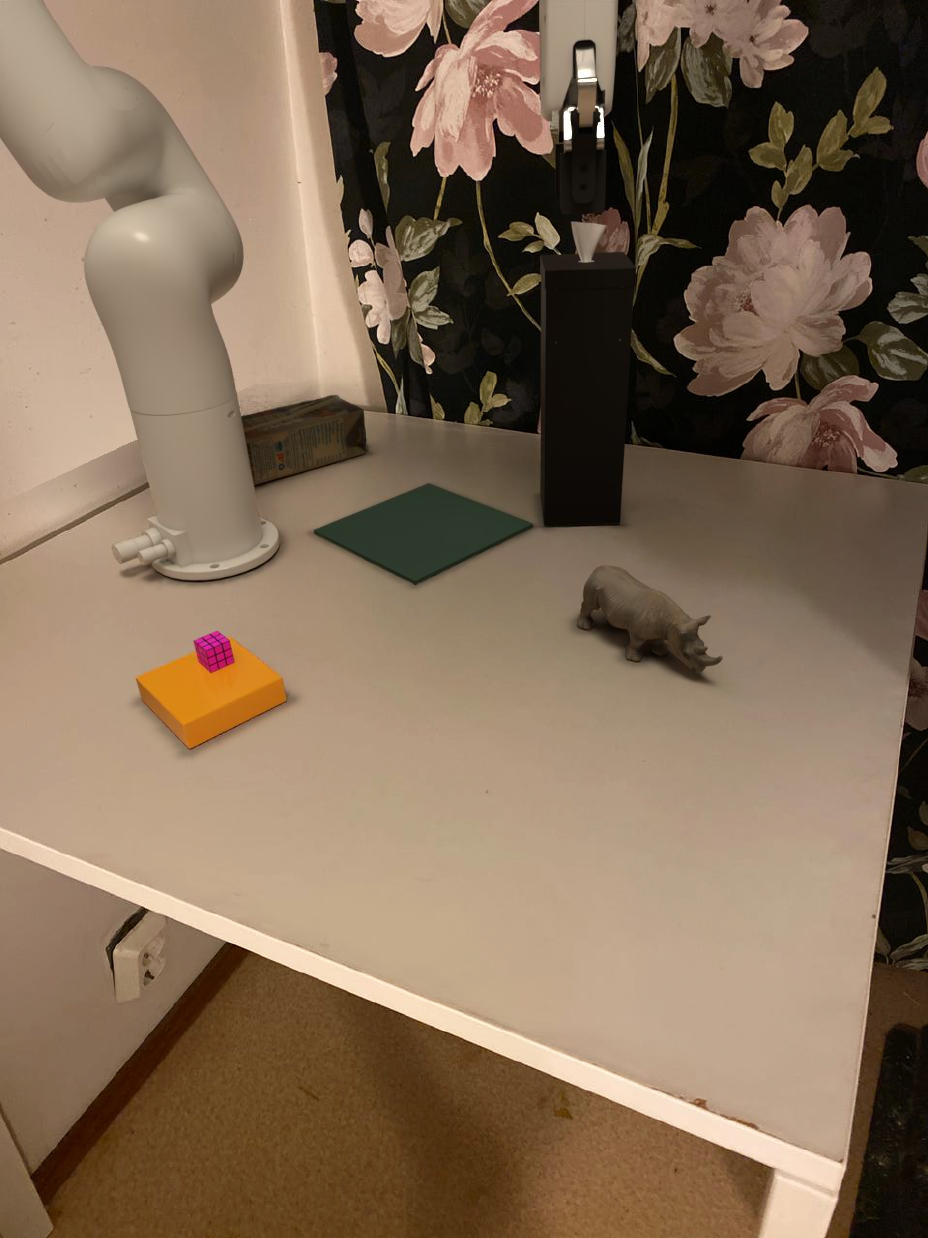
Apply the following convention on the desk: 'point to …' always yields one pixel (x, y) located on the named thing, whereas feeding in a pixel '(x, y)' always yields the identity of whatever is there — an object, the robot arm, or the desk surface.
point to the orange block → (211, 689)
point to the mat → (422, 531)
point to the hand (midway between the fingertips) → (578, 205)
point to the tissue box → (584, 380)
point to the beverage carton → (303, 437)
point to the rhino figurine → (644, 617)
